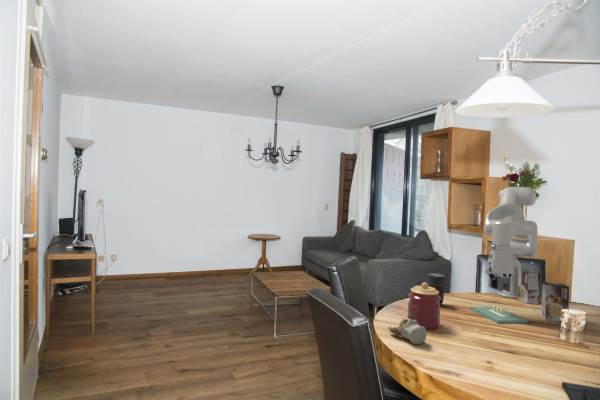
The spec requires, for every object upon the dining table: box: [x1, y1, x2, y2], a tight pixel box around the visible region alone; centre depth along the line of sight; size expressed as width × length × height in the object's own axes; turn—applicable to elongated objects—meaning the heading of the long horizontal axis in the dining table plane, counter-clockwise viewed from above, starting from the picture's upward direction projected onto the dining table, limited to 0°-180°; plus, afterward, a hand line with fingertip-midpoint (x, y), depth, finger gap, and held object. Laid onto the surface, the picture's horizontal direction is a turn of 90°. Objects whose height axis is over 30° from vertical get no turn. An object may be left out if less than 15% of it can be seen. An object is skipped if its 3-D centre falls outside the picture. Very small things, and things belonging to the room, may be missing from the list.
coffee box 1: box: [517, 269, 541, 305], centre depth 202 cm, size 9×6×16 cm
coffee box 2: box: [540, 281, 570, 322], centre depth 173 cm, size 9×6×16 cm
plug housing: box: [488, 274, 511, 292], centre depth 174 cm, size 9×4×6 cm, turn 7°
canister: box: [406, 281, 442, 330], centre depth 159 cm, size 13×13×18 cm
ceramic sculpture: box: [388, 317, 428, 345], centre depth 142 cm, size 11×9×15 cm
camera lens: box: [426, 272, 446, 307], centre depth 189 cm, size 8×8×15 cm
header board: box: [470, 304, 528, 324], centre depth 175 cm, size 20×14×4 cm
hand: (499, 287), depth 174 cm, fingers closed on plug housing, 4 cm apart
